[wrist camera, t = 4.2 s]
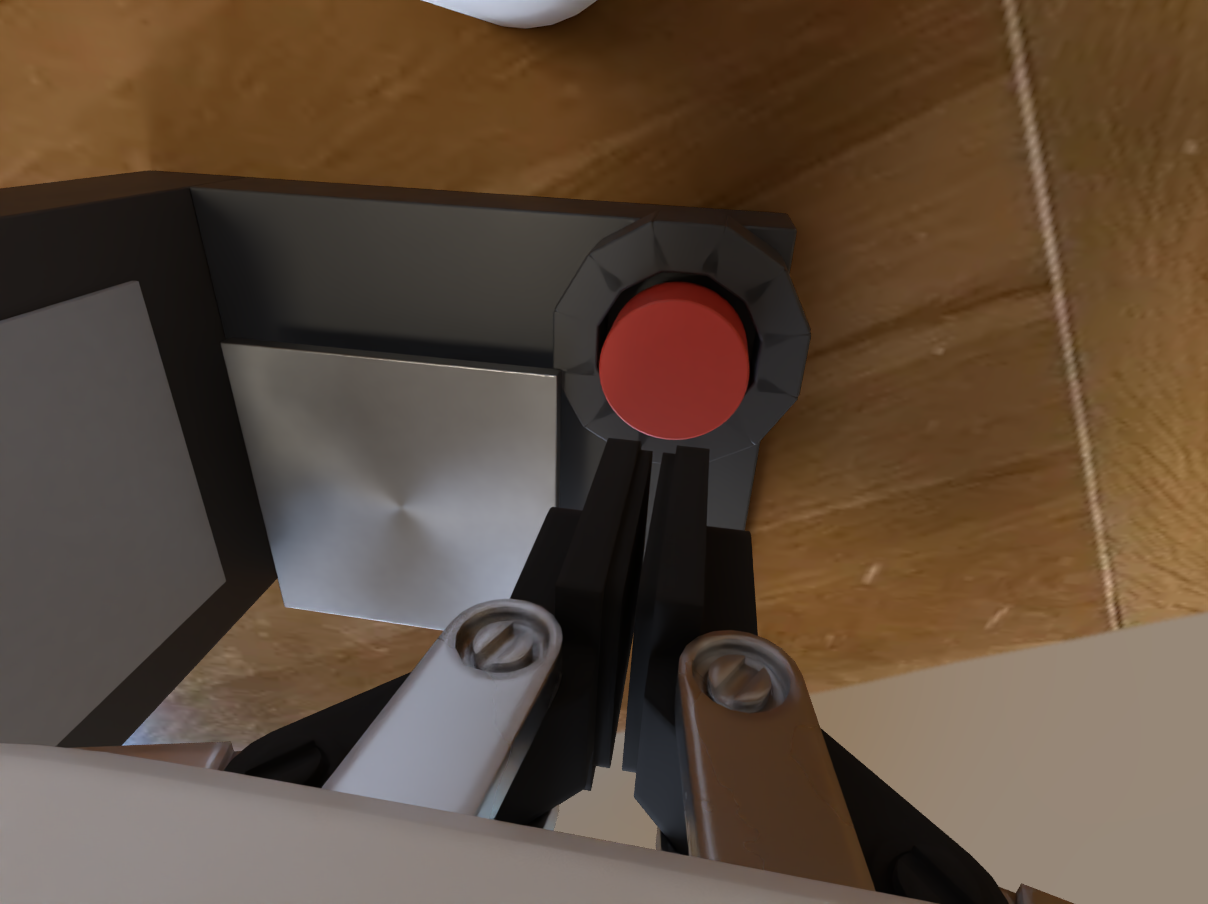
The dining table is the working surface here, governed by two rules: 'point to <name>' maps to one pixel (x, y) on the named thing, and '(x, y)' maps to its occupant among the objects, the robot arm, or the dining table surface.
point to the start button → (675, 361)
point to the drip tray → (396, 475)
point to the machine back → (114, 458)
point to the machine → (510, 295)
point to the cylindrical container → (517, 10)
